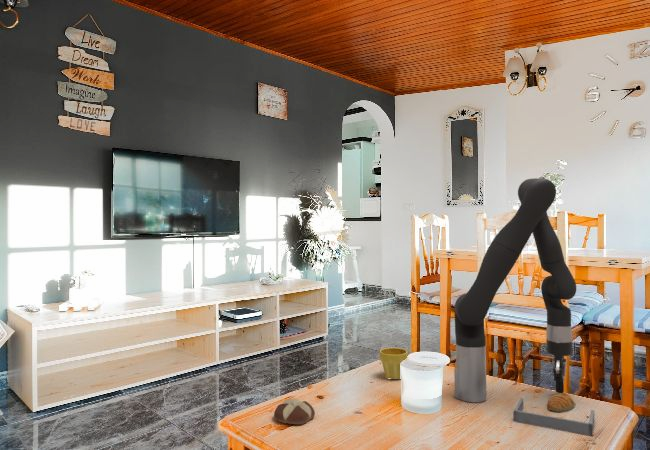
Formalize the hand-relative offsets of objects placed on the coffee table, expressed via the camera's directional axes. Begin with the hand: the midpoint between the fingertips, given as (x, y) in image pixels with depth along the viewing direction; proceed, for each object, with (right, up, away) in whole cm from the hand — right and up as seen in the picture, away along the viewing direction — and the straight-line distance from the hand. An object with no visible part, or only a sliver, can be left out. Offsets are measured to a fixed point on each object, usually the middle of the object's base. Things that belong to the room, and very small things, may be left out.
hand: (559, 392), depth 156 cm
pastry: (-4, -2, -8) cm, 9 cm away
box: (-10, -2, -18) cm, 21 cm away
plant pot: (-50, -2, +22) cm, 55 cm away
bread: (-85, -3, -13) cm, 86 cm away
